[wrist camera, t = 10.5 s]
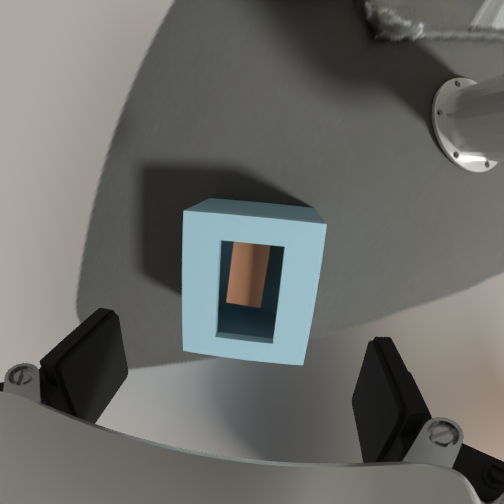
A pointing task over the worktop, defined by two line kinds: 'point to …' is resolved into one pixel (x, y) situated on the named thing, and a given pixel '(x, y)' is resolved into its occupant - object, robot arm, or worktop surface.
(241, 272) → the brown wooden block
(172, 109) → the worktop surface
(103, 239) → the worktop surface
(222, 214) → the box
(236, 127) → the worktop surface
